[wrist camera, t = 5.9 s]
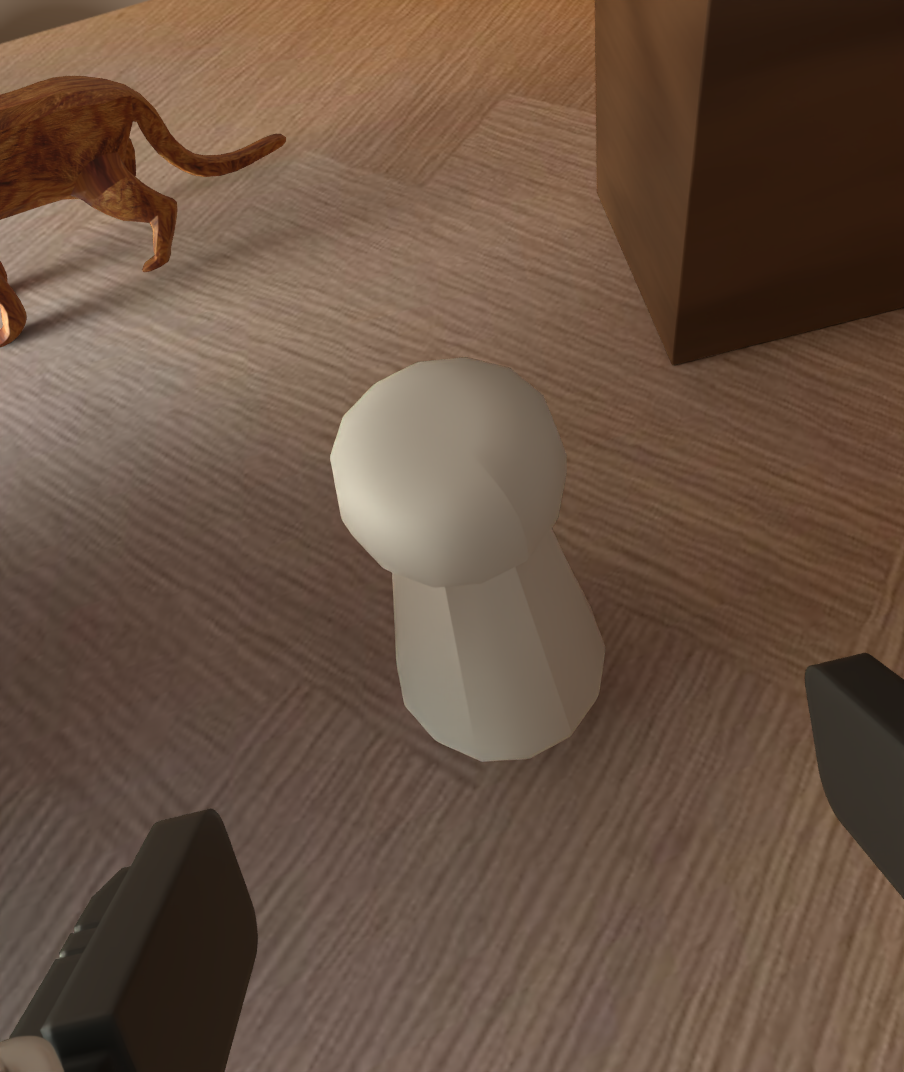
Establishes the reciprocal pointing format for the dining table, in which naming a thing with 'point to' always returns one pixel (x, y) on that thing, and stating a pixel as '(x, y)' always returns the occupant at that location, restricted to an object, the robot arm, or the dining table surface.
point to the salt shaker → (472, 554)
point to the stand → (753, 163)
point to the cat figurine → (92, 162)
